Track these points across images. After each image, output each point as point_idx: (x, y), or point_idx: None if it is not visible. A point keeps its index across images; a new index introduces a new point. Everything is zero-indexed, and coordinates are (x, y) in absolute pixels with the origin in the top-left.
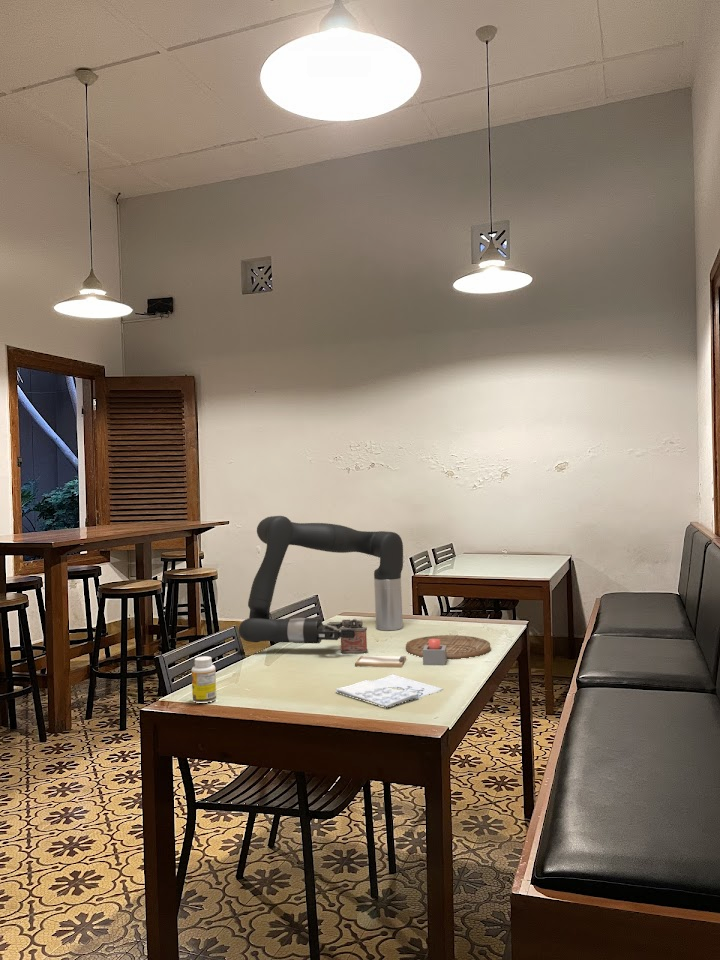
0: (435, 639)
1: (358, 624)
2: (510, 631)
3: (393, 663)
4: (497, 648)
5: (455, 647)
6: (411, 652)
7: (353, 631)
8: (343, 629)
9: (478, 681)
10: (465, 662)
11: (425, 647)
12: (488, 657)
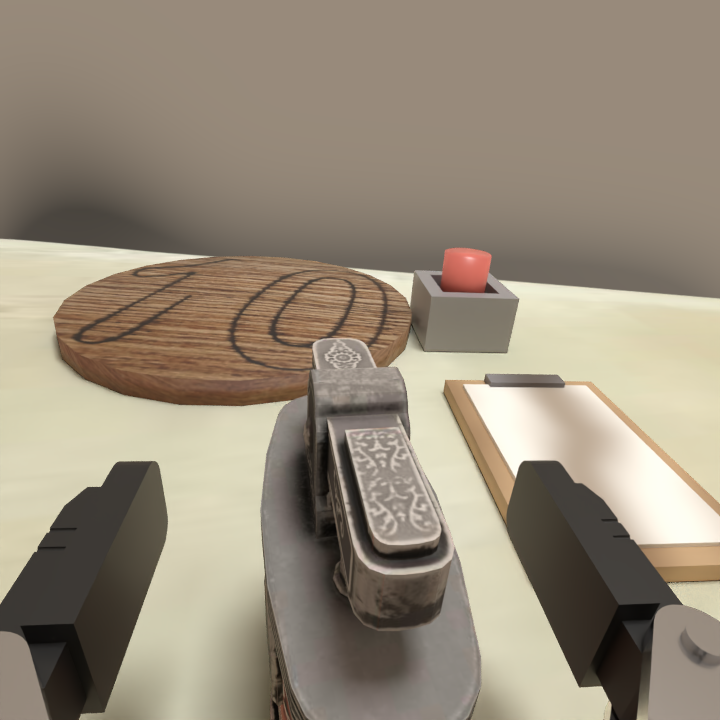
0: (462, 252)
1: (145, 469)
2: (21, 246)
3: (600, 402)
4: None
5: (305, 289)
6: None
7: (556, 470)
8: (471, 643)
9: (595, 289)
10: None
11: (472, 295)
12: None
